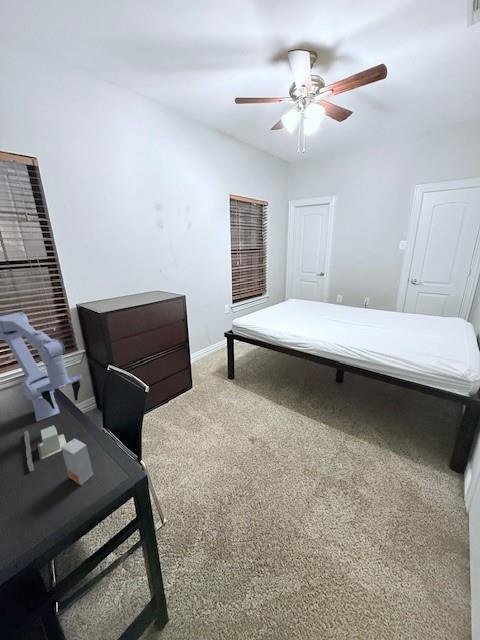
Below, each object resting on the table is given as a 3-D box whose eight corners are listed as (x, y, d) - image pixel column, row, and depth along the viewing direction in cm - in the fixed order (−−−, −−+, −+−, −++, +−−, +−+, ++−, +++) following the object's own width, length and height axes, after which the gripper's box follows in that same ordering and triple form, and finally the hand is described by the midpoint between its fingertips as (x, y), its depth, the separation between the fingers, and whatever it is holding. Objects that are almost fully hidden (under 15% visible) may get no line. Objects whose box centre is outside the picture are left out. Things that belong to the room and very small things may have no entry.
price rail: (24, 435, 99) (23, 431, 99) (28, 433, 100) (27, 430, 100) (29, 472, 84) (28, 468, 83) (33, 470, 84) (32, 466, 84)
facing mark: (37, 445, 95) (37, 444, 94) (63, 434, 100) (63, 433, 99) (40, 460, 88) (40, 459, 88) (67, 447, 93) (67, 447, 93)
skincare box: (68, 478, 81) (60, 446, 78) (82, 467, 85) (74, 437, 81) (80, 486, 79) (72, 454, 75) (94, 475, 82) (86, 444, 79)
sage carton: (46, 454, 90) (42, 439, 88) (44, 444, 95) (40, 430, 93) (61, 447, 93) (57, 433, 91) (58, 438, 97) (54, 424, 95)
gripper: (34, 383, 91) (43, 416, 95) (81, 369, 100) (88, 400, 104) (32, 375, 96) (41, 407, 100) (77, 363, 105) (84, 392, 109)
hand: (64, 403), depth 103 cm, fingers open, 7 cm apart
